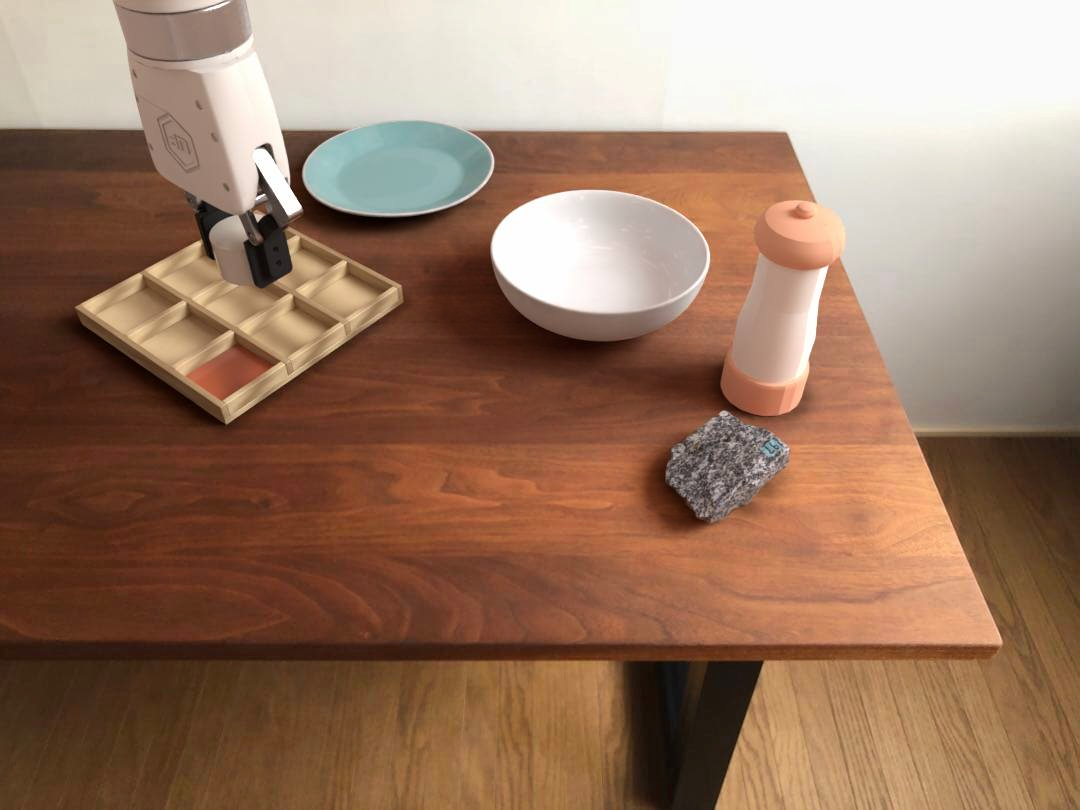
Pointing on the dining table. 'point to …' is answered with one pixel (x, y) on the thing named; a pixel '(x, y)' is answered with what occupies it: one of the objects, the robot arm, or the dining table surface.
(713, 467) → the rock
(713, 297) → the dining table surface
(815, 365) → the dining table surface
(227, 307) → the wooden compartment tray
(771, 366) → the pepper shaker
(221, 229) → the white cylinder puck
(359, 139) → the plate
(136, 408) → the dining table surface
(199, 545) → the dining table surface
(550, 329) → the serving bowl
